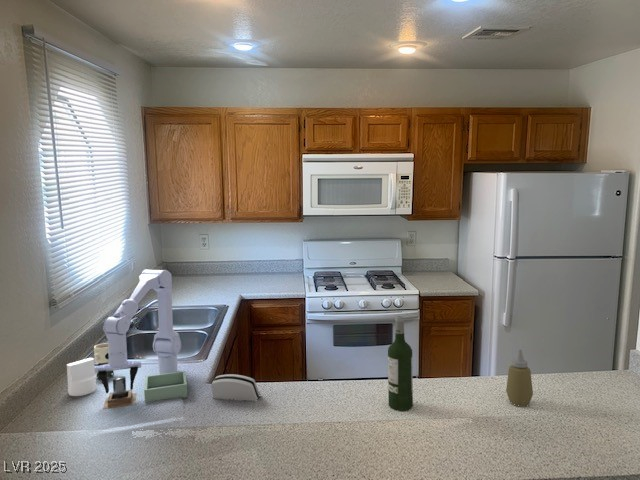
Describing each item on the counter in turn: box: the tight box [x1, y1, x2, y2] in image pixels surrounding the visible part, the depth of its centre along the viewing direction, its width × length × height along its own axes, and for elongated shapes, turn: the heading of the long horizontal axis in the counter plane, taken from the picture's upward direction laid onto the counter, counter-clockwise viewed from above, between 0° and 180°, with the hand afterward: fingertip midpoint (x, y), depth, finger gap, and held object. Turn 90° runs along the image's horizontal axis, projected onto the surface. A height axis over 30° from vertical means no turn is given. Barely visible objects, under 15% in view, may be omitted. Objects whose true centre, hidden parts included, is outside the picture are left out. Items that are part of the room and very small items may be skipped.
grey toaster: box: [211, 373, 262, 402], centre depth 157 cm, size 17×5×10 cm, turn 78°
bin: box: [143, 370, 188, 403], centre depth 163 cm, size 14×14×5 cm
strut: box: [112, 375, 127, 399], centre depth 155 cm, size 4×4×8 cm
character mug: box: [93, 342, 115, 379], centre depth 180 cm, size 11×7×13 cm, turn 172°
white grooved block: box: [66, 357, 97, 397], centre depth 164 cm, size 9×9×12 cm
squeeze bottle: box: [505, 349, 534, 407], centre depth 147 cm, size 8×8×18 cm
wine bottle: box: [387, 315, 414, 412], centre depth 147 cm, size 8×8×30 cm
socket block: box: [102, 389, 138, 410], centre depth 155 cm, size 10×10×3 cm
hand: (119, 390), depth 155 cm, fingers open, 7 cm apart
